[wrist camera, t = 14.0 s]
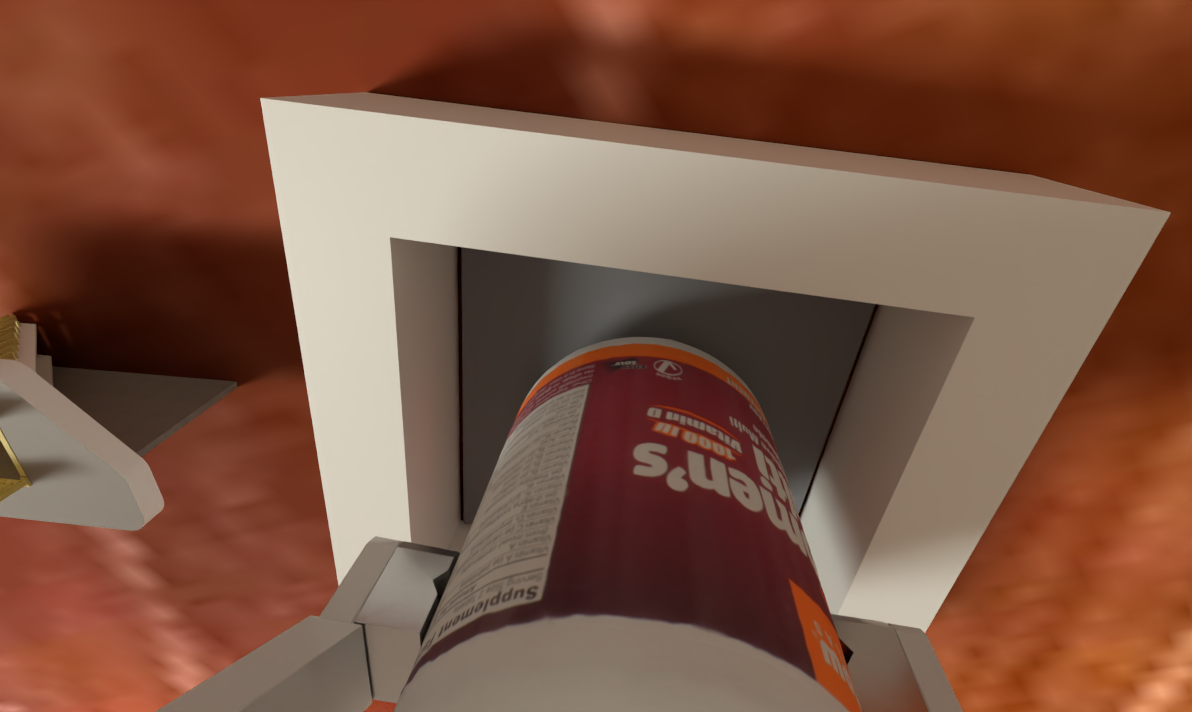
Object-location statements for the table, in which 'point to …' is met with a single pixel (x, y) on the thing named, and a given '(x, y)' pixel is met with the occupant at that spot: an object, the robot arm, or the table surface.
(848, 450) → the holder block
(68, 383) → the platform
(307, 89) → the table surface
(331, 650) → the robot arm
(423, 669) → the pill bottle
